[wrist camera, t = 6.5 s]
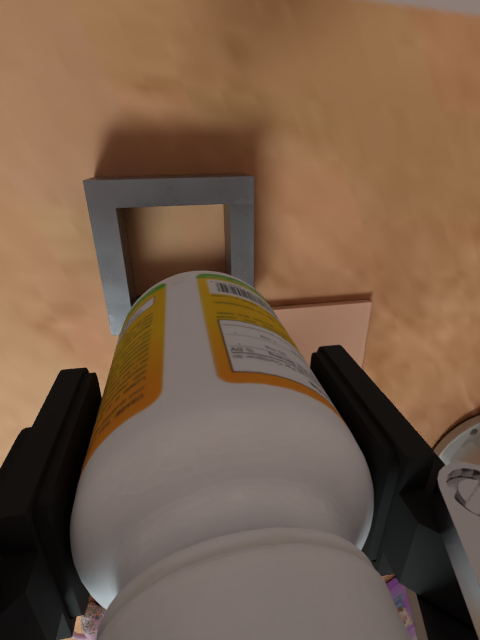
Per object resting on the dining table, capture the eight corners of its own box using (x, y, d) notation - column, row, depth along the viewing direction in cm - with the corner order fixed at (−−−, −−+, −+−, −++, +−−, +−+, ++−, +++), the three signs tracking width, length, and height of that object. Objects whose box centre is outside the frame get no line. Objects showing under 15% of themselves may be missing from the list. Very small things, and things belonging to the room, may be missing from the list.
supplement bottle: (148, 419, 14) (107, 897, 5) (96, 289, 11) (-172, 779, 2) (285, 383, 14) (473, 767, 5) (264, 249, 11) (546, 553, 3)
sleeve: (245, 173, 24) (254, 176, 21) (246, 306, 28) (253, 323, 25) (93, 177, 22) (82, 180, 20) (118, 316, 26) (111, 335, 24)
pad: (368, 299, 29) (372, 302, 29) (353, 398, 34) (356, 402, 33) (248, 308, 28) (250, 312, 27) (248, 410, 32) (250, 415, 32)
